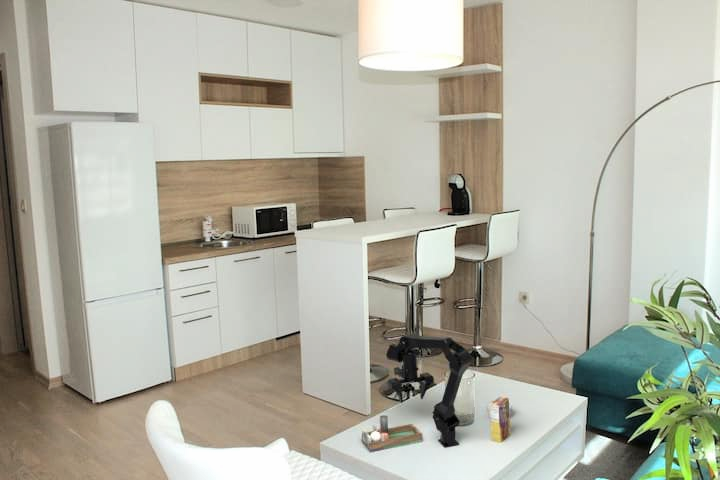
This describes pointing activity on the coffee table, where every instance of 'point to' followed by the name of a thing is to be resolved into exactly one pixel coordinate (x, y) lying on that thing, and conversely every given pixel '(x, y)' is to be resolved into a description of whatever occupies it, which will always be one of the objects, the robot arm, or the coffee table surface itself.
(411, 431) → the tray
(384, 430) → the cylinder
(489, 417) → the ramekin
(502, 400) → the candy box
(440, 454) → the coffee table surface
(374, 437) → the ball
